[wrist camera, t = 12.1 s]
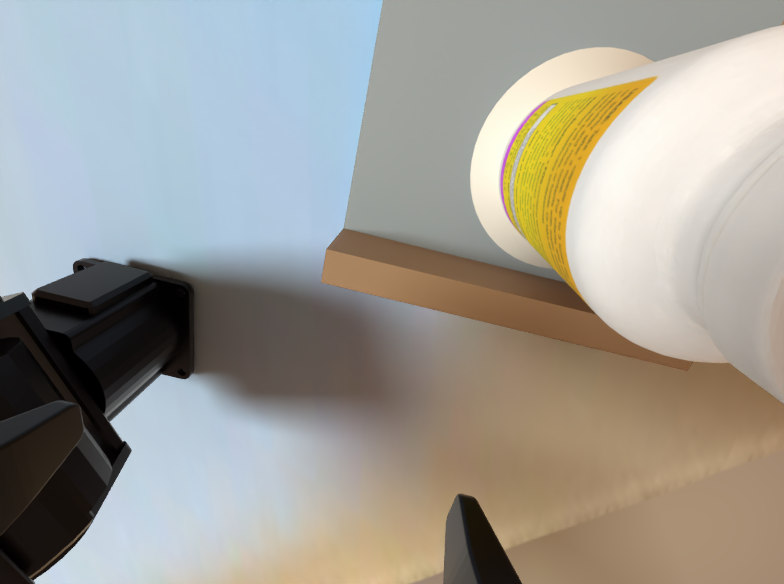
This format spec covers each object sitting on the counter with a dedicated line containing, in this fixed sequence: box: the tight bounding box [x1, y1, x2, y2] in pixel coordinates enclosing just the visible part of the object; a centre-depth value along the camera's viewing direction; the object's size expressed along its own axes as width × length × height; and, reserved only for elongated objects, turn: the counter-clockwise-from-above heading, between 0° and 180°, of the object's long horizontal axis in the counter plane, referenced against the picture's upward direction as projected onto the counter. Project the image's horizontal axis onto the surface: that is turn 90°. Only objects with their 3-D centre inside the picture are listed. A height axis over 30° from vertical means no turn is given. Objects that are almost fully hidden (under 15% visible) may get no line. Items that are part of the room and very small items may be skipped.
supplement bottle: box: [498, 25, 784, 404], centre depth 10 cm, size 7×7×13 cm
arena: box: [321, 0, 784, 371], centre depth 15 cm, size 14×16×4 cm
